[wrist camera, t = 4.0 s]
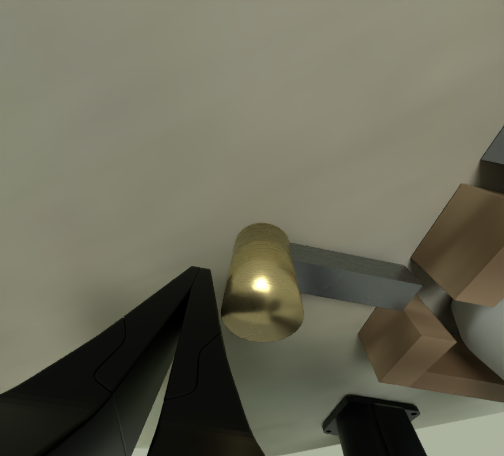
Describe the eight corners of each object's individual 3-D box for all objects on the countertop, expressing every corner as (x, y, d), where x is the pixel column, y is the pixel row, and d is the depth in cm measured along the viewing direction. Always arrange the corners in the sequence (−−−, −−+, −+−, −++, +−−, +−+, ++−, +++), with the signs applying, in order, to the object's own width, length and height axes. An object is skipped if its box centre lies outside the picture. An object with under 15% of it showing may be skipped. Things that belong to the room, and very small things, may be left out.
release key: (378, 291, 13) (430, 371, 9) (230, 263, 12) (216, 334, 8) (405, 251, 11) (480, 324, 8) (240, 217, 11) (227, 277, 7)
